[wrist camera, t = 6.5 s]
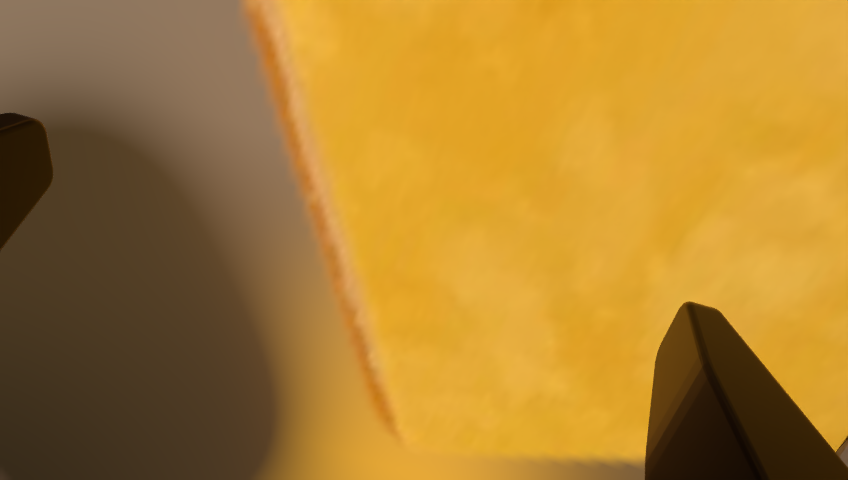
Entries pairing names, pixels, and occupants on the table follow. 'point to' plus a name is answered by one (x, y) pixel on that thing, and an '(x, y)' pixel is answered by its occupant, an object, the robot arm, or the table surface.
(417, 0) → the table surface
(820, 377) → the table surface
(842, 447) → the coffeepot
